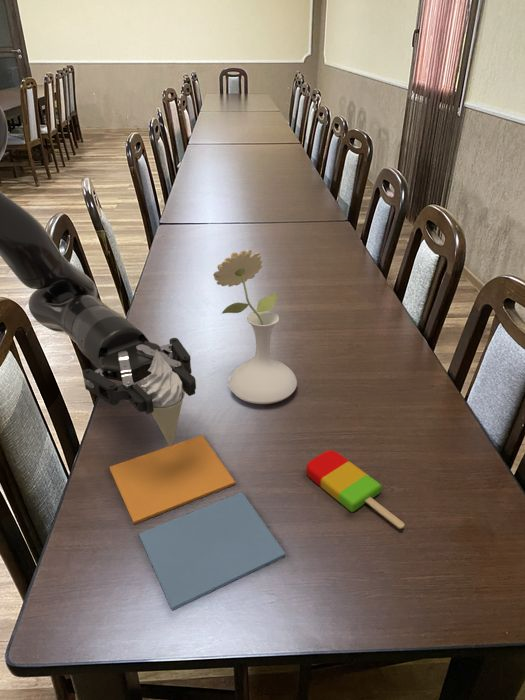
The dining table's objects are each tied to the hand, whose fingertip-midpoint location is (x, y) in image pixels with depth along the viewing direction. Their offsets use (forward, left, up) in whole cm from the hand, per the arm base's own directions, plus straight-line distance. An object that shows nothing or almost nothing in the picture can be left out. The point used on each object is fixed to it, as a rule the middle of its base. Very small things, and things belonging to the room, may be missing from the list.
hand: (171, 397), depth 64 cm
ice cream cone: (0, +2, -9) cm, 9 cm away
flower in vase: (+20, +15, -15) cm, 29 cm away
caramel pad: (0, +3, -15) cm, 15 cm away
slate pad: (0, -10, -15) cm, 18 cm away
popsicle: (+20, -12, -15) cm, 28 cm away
